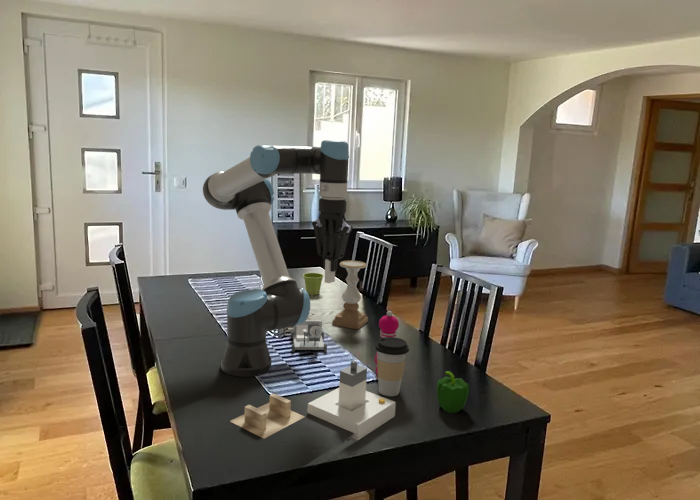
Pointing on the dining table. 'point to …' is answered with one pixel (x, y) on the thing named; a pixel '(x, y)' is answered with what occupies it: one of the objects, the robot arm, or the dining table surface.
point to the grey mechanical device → (308, 336)
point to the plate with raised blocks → (268, 417)
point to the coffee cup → (390, 364)
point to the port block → (353, 413)
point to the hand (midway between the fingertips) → (329, 281)
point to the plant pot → (313, 282)
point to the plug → (352, 386)
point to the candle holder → (351, 299)
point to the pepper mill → (387, 328)
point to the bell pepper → (452, 393)
